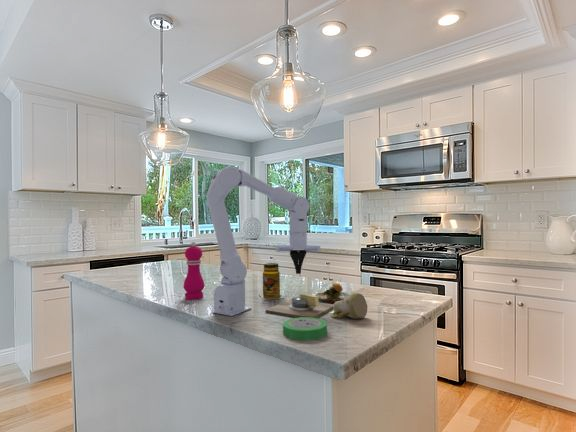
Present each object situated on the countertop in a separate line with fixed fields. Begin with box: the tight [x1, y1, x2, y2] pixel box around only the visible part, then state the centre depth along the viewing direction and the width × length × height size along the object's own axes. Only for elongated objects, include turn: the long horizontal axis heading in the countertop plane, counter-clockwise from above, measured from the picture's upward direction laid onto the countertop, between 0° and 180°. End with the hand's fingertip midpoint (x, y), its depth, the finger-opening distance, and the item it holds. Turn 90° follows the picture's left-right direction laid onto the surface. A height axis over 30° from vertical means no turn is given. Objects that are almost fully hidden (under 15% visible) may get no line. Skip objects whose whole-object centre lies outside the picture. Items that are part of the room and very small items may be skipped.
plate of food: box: [315, 279, 350, 304], centre depth 127 cm, size 12×12×8 cm
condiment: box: [259, 262, 285, 301], centre depth 132 cm, size 7×8×12 cm
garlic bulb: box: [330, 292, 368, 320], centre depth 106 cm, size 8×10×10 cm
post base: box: [265, 298, 334, 319], centre depth 114 cm, size 16×16×1 cm
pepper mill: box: [183, 241, 205, 301], centre depth 131 cm, size 7×7×20 cm
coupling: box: [291, 293, 319, 308], centre depth 113 cm, size 9×6×4 cm, turn 48°
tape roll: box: [282, 317, 328, 341], centre depth 93 cm, size 11×11×3 cm
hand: (298, 273), depth 122 cm, fingers closed
